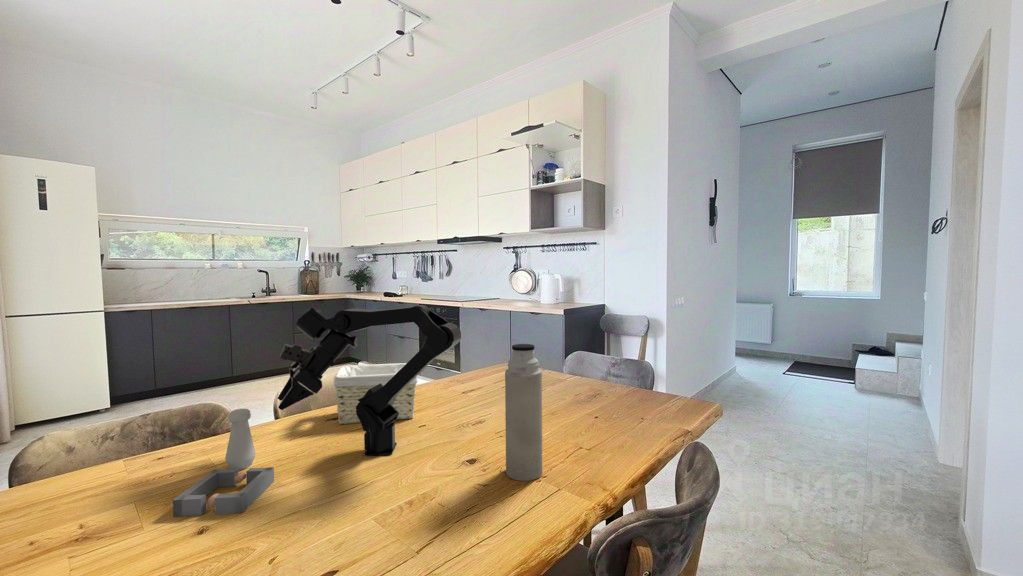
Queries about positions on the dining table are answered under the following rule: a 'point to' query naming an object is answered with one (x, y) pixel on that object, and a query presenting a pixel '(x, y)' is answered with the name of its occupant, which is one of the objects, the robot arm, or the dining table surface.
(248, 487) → the grey square frame
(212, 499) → the plunger left
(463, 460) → the dining table surface
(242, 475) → the plunger right
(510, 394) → the thermos bottle
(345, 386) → the storage basket
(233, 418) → the salt shaker
